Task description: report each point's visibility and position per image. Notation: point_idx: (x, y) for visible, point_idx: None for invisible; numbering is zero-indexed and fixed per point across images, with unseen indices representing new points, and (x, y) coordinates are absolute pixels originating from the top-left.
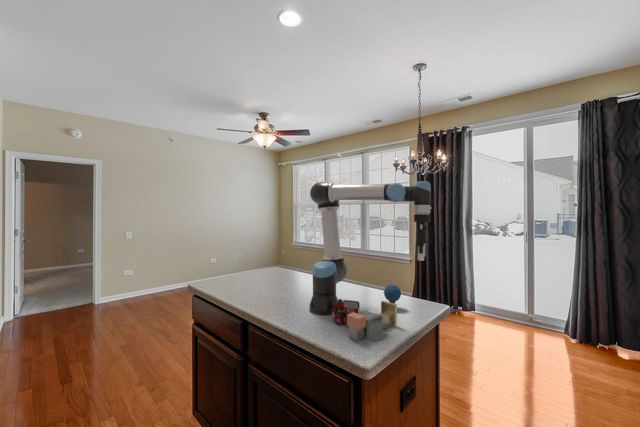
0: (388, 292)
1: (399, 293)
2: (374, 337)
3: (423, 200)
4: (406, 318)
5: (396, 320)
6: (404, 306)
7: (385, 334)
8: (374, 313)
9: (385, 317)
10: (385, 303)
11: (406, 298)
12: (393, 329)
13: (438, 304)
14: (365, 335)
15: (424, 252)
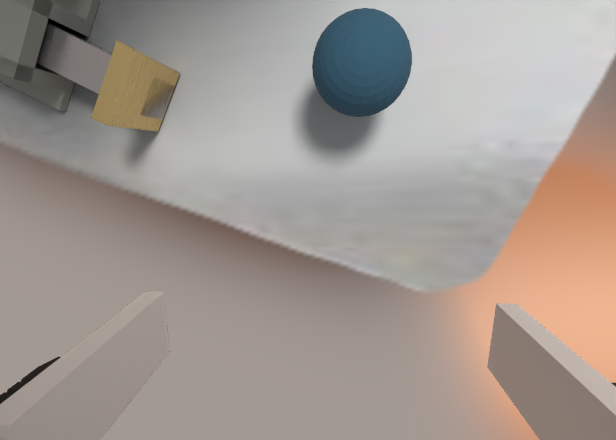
0: (316, 45)
1: (338, 110)
2: (5, 75)
3: None
4: (252, 157)
5: (145, 129)
6: (402, 134)
7: (51, 106)
8: (22, 39)
9: (87, 87)
10: (110, 67)
11: (541, 130)
12: None
13: (479, 274)
14: None
15: (516, 396)
